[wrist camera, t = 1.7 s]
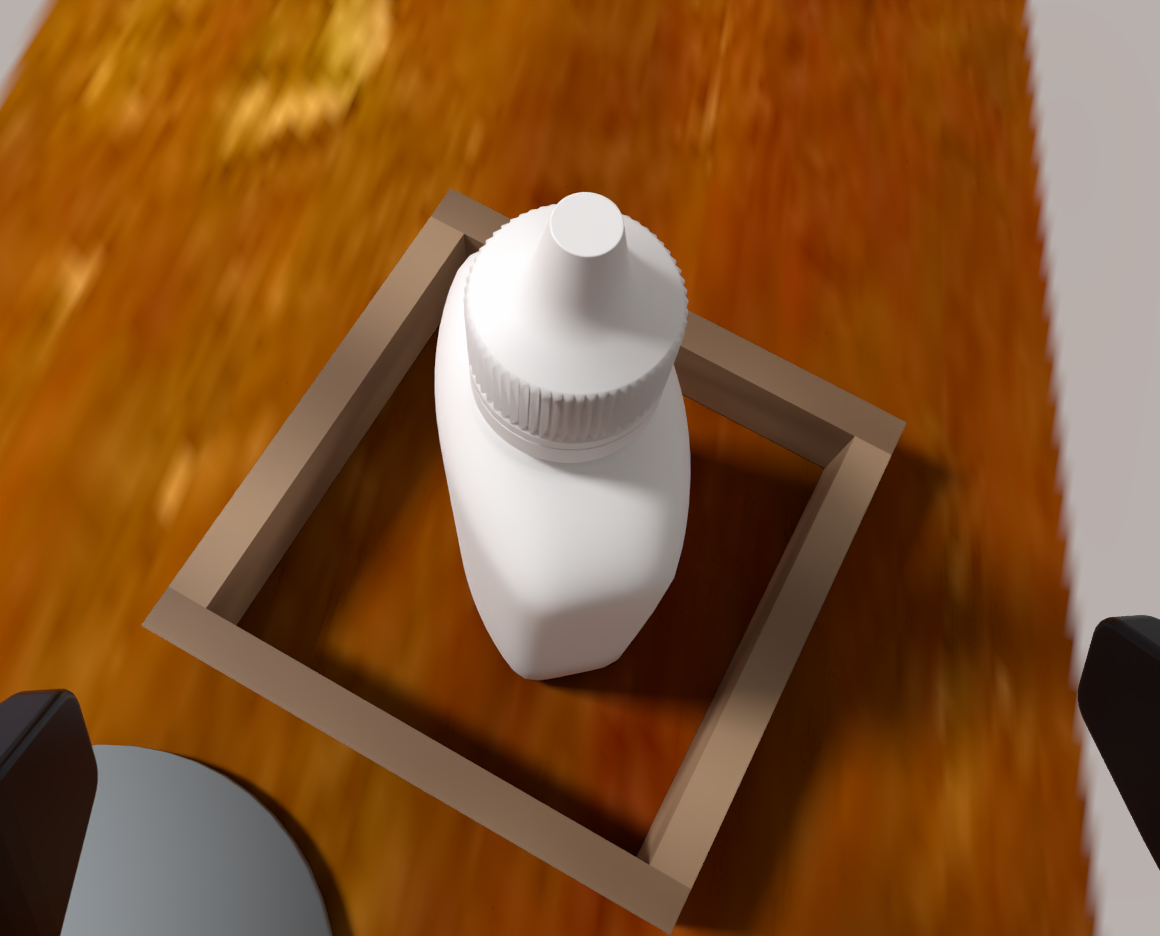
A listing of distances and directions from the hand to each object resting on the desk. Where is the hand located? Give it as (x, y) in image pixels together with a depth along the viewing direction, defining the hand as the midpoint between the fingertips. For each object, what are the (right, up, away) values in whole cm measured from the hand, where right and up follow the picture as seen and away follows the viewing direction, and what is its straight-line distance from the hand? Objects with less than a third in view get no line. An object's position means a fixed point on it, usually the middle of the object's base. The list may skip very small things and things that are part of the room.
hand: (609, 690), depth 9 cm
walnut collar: (-1, 0, +12) cm, 12 cm away
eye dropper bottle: (-1, 0, +12) cm, 12 cm away
